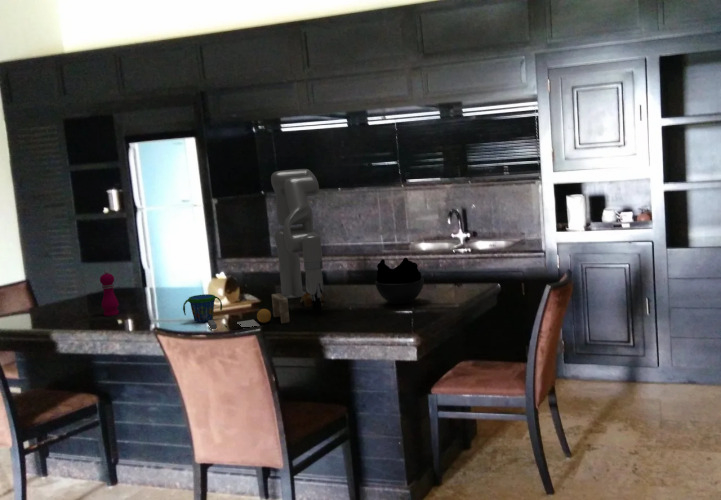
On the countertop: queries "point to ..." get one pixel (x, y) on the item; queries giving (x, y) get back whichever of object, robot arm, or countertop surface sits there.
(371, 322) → the countertop surface
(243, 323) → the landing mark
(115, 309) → the pepper mill
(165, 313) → the countertop surface
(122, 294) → the countertop surface
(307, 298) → the bread roll
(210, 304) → the snack cup
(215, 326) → the stopper
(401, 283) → the bowl of black rocks
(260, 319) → the ball
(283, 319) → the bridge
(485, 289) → the countertop surface
